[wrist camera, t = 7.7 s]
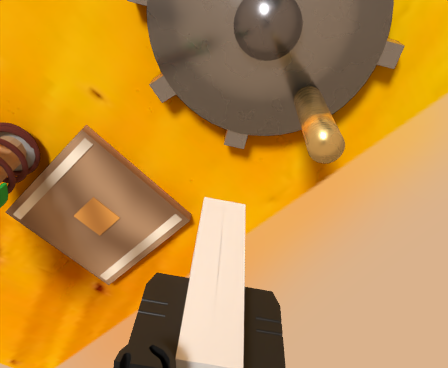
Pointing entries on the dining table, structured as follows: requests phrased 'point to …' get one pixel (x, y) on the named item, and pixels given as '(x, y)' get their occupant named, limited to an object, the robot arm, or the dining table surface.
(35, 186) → the pad
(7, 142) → the shock absorber
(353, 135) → the dining table surface
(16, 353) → the dining table surface
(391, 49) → the sprocket
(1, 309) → the dining table surface
